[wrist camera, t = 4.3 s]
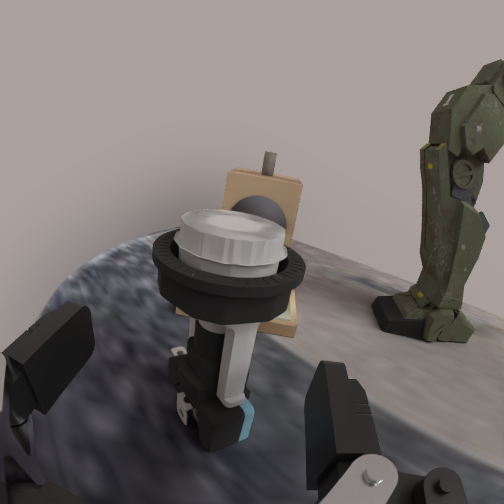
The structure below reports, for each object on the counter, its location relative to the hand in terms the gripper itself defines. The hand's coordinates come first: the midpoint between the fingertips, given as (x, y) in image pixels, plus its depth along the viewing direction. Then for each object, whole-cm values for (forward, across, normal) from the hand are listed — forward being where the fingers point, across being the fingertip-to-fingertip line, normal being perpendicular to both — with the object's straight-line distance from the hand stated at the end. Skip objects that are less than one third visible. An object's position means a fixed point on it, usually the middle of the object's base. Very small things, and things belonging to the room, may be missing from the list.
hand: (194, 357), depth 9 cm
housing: (+19, -1, +6) cm, 20 cm away
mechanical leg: (+16, -20, +6) cm, 26 cm away
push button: (+3, 0, +6) cm, 7 cm away
